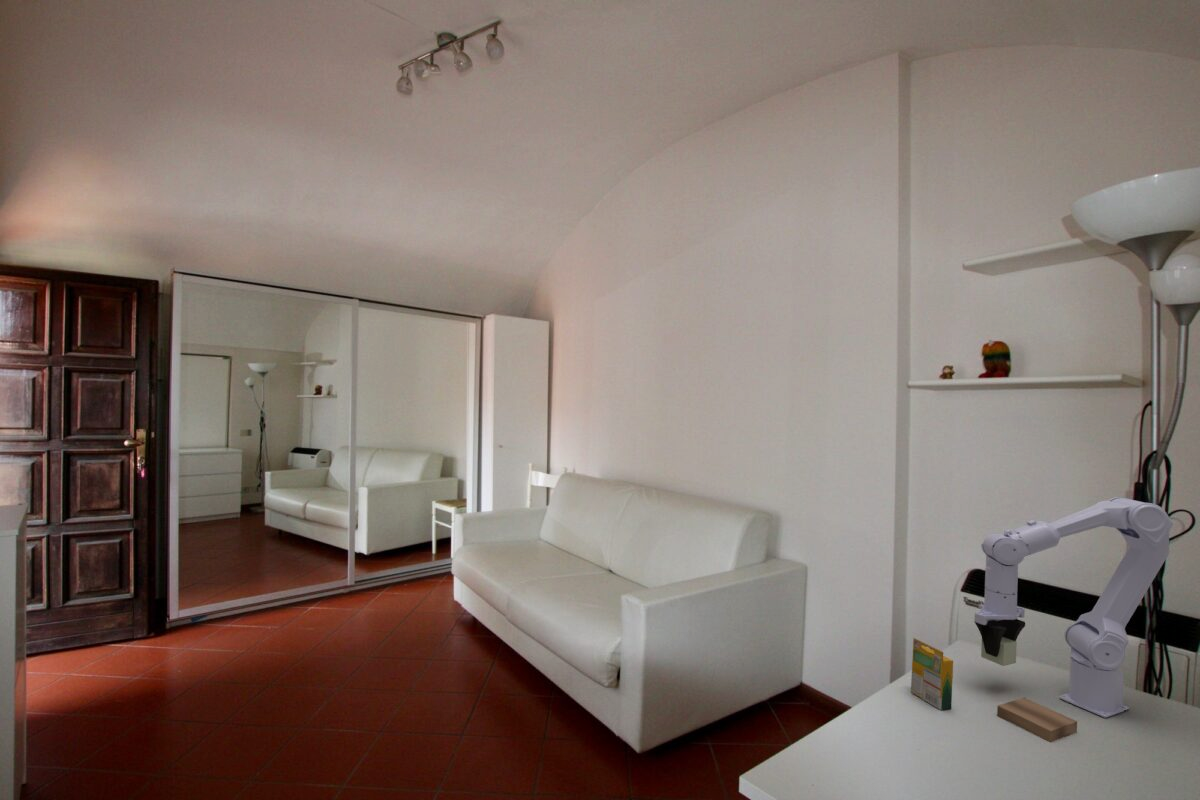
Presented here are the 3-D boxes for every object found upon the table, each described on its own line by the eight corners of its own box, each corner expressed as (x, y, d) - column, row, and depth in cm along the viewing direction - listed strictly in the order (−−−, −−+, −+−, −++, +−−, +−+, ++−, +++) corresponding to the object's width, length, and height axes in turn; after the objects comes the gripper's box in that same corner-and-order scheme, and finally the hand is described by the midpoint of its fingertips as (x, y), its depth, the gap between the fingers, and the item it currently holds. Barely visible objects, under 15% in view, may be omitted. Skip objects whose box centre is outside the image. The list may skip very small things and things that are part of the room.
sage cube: (993, 654, 122) (994, 633, 122) (1015, 662, 118) (1016, 641, 118) (981, 656, 120) (981, 636, 120) (1003, 666, 116) (1004, 644, 116)
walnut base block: (1023, 709, 112) (1023, 697, 112) (1076, 734, 104) (1077, 721, 104) (997, 718, 108) (997, 705, 108) (1050, 744, 100) (1050, 730, 100)
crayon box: (952, 709, 110) (954, 651, 110) (940, 711, 109) (943, 652, 109) (921, 690, 117) (923, 636, 117) (910, 692, 116) (912, 637, 116)
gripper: (1001, 581, 126) (999, 641, 125) (961, 587, 120) (958, 649, 119) (1036, 591, 119) (1033, 654, 119) (995, 598, 113) (993, 664, 113)
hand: (998, 653), depth 119 cm, fingers closed on sage cube, 4 cm apart
